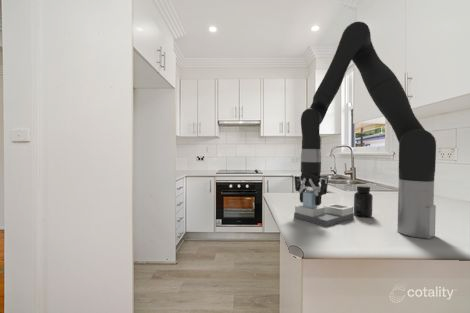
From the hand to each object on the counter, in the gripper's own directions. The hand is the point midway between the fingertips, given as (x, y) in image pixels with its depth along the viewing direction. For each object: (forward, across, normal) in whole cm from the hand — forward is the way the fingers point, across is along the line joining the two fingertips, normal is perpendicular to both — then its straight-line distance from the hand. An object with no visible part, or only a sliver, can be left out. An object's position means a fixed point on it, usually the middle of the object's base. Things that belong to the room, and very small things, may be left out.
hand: (310, 203), depth 97 cm
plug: (+4, 0, 0) cm, 4 cm away
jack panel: (+6, -3, -5) cm, 8 cm away
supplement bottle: (+6, -10, -22) cm, 25 cm away
